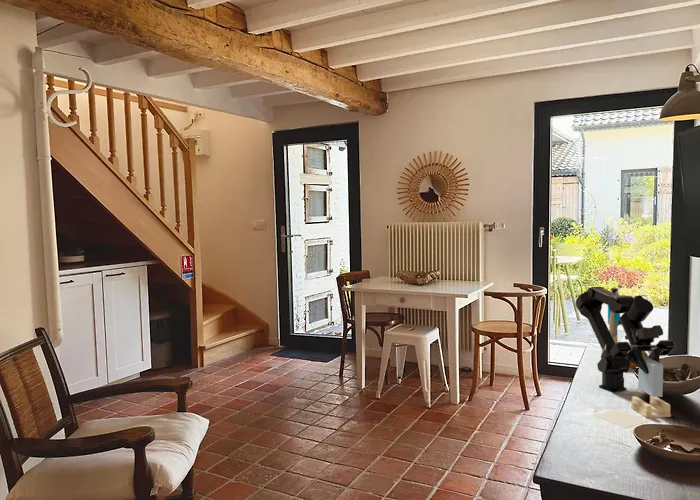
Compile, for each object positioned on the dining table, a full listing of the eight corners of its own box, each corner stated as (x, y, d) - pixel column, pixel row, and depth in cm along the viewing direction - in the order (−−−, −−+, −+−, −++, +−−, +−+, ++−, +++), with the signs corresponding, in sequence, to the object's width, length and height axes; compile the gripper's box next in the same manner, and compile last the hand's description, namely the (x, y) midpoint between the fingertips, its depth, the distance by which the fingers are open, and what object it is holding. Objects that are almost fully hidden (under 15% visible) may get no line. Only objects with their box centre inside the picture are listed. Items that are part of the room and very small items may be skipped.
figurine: (621, 365, 218) (622, 291, 215) (604, 362, 221) (604, 290, 218) (627, 354, 231) (628, 285, 228) (610, 352, 234) (611, 284, 232)
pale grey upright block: (638, 387, 173) (638, 357, 172) (647, 387, 173) (648, 357, 172) (652, 397, 165) (653, 365, 164) (662, 396, 165) (663, 364, 164)
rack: (630, 408, 174) (631, 396, 173) (655, 407, 174) (655, 395, 174) (645, 418, 166) (645, 406, 165) (670, 417, 166) (671, 404, 166)
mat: (593, 415, 169) (593, 414, 169) (616, 410, 173) (616, 409, 173) (624, 429, 159) (624, 428, 159) (647, 422, 163) (647, 421, 163)
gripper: (615, 317, 170) (634, 362, 161) (673, 315, 171) (695, 359, 161) (602, 335, 179) (619, 378, 169) (657, 333, 180) (677, 376, 170)
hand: (653, 373), depth 167 cm, fingers closed on pale grey upright block, 3 cm apart
